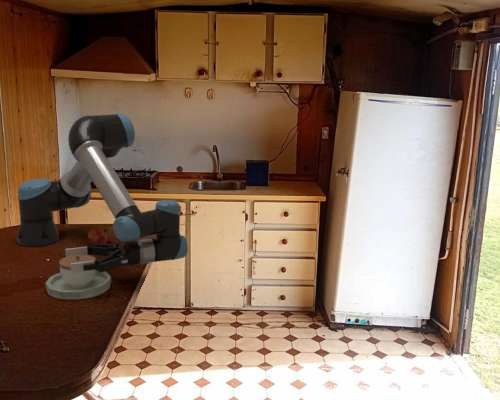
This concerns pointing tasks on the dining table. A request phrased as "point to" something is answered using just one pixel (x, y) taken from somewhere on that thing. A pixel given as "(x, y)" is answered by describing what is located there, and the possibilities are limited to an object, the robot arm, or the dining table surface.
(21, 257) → the dining table surface
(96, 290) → the rimmed tray
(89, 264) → the robot arm
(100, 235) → the pomegranate
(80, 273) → the lidded jar
